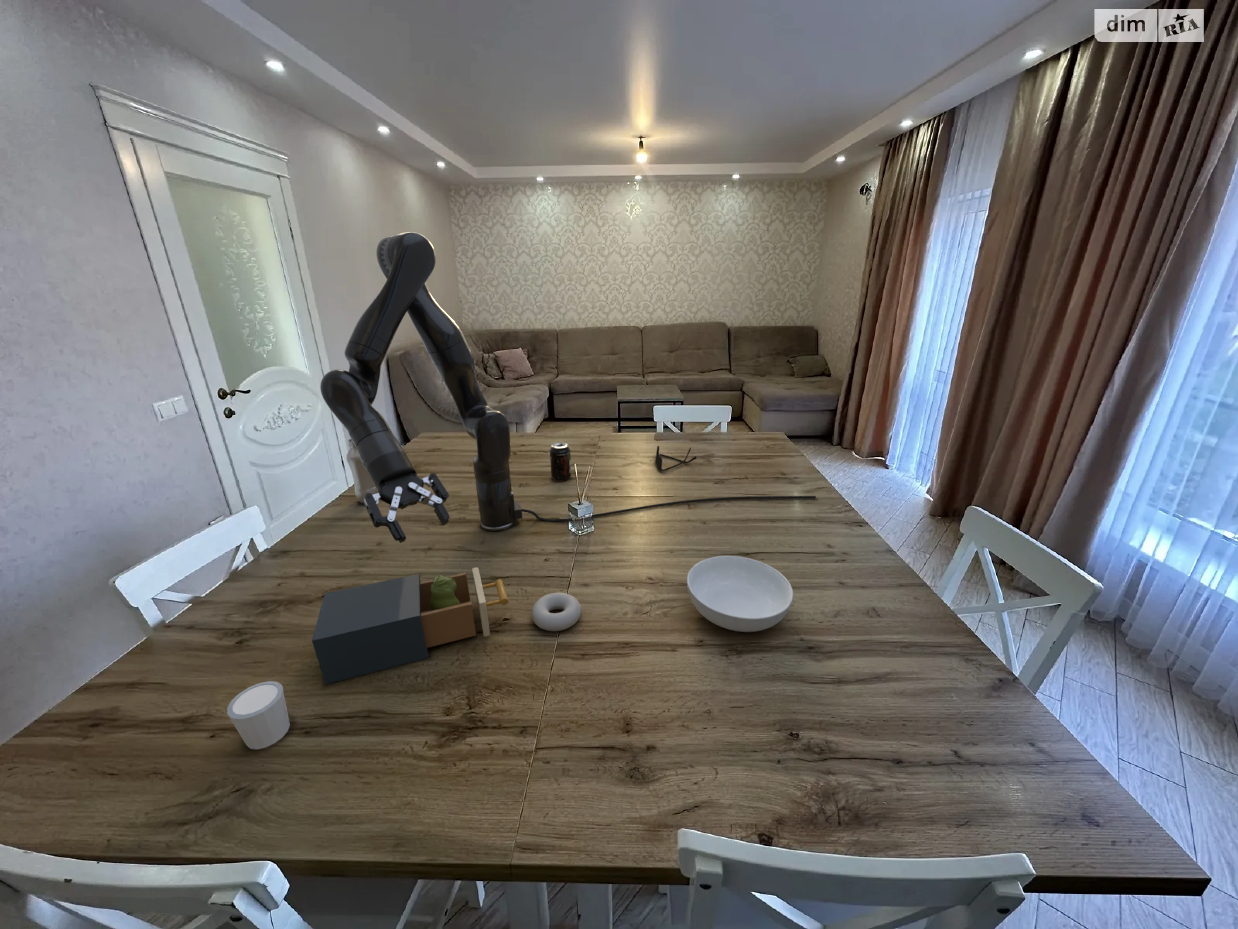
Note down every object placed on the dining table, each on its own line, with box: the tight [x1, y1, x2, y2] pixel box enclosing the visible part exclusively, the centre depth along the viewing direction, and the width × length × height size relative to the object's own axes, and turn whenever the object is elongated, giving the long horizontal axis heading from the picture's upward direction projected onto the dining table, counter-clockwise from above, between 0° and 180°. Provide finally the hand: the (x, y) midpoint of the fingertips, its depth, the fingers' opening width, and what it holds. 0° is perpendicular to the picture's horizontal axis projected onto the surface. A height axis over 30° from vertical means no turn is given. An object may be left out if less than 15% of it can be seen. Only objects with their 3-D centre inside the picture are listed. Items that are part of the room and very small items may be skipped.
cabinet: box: [311, 573, 429, 686], centre depth 90 cm, size 17×14×10 cm
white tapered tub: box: [226, 680, 291, 750], centre depth 73 cm, size 7×7×7 cm
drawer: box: [420, 566, 509, 649], centre depth 94 cm, size 20×12×8 cm, turn 112°
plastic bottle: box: [345, 438, 378, 504], centre depth 146 cm, size 6×7×20 cm
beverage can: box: [549, 442, 572, 482], centre depth 162 cm, size 7×7×12 cm
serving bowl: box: [686, 555, 794, 633], centre depth 99 cm, size 21×21×7 cm
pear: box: [430, 574, 460, 611], centre depth 93 cm, size 6×5×10 cm
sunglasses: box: [654, 445, 697, 472], centre depth 176 cm, size 17×14×5 cm
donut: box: [531, 592, 582, 632], centre depth 98 cm, size 10×3×10 cm
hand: (425, 531), depth 90 cm, fingers open, 8 cm apart
